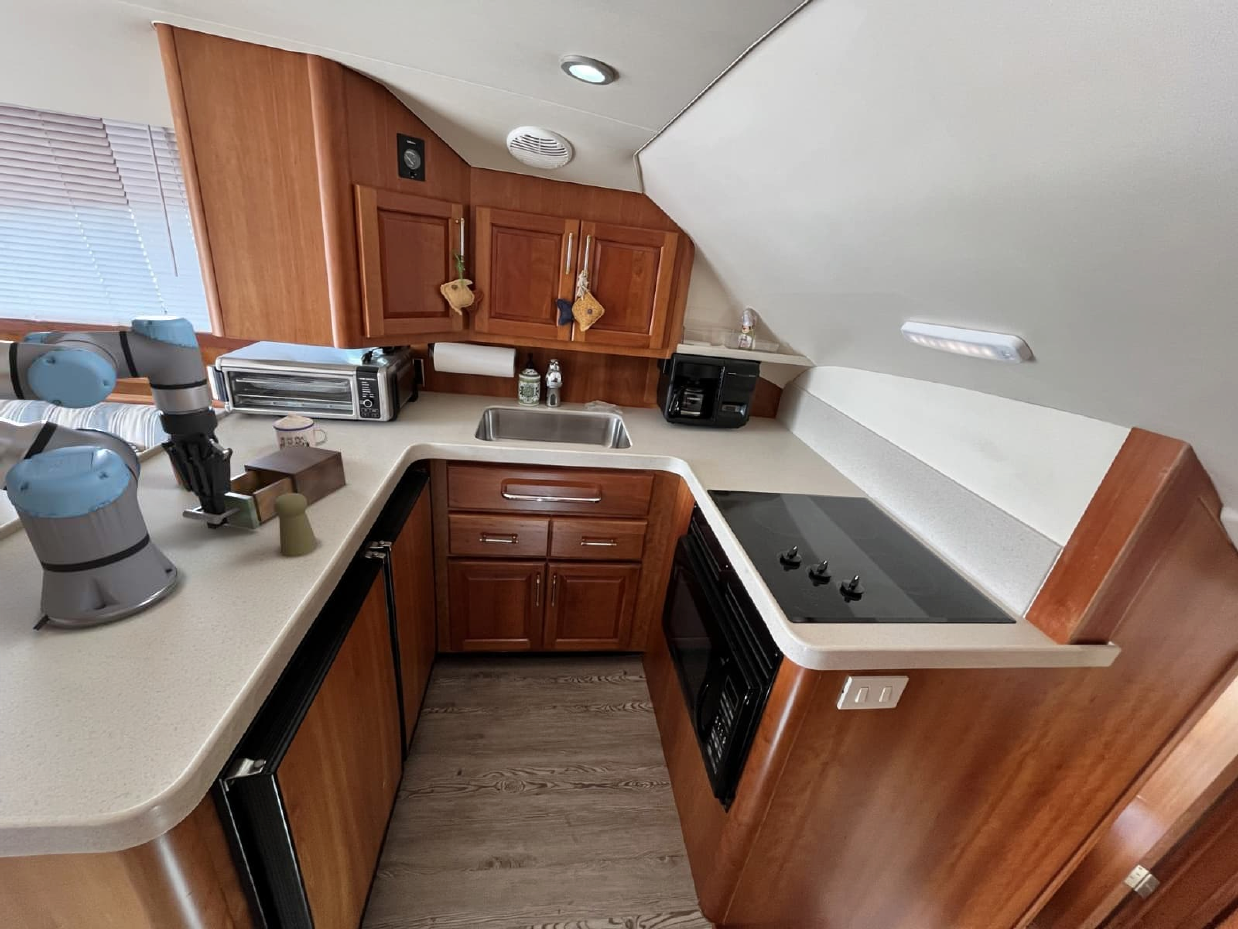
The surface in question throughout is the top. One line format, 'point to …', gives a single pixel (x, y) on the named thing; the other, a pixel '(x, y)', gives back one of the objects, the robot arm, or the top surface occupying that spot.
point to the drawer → (248, 499)
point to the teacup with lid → (297, 431)
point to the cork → (294, 525)
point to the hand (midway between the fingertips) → (218, 525)
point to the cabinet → (305, 469)
